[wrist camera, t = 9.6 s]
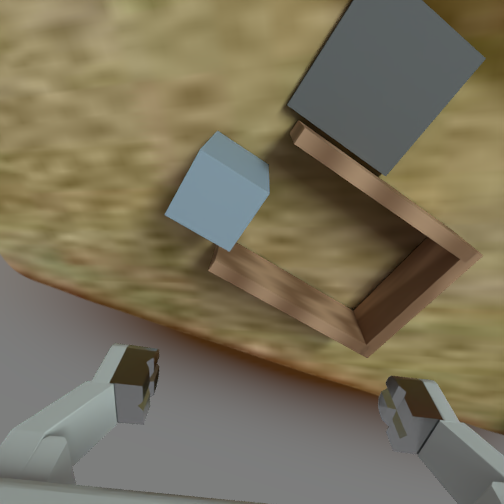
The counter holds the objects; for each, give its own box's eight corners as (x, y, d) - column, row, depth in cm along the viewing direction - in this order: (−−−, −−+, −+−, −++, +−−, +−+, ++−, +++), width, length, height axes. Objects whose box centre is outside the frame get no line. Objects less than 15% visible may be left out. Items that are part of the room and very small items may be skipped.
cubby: (451, 229, 30) (483, 255, 25) (354, 323, 35) (367, 358, 31) (298, 119, 26) (304, 127, 22) (216, 243, 31) (208, 270, 27)
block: (268, 164, 28) (269, 193, 21) (237, 211, 30) (229, 251, 23) (217, 130, 27) (200, 149, 20) (189, 181, 29) (164, 214, 22)
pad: (480, 58, 24) (485, 58, 23) (383, 174, 28) (385, 176, 27) (375, -37, 21) (378, -40, 21) (286, 104, 25) (287, 105, 25)
